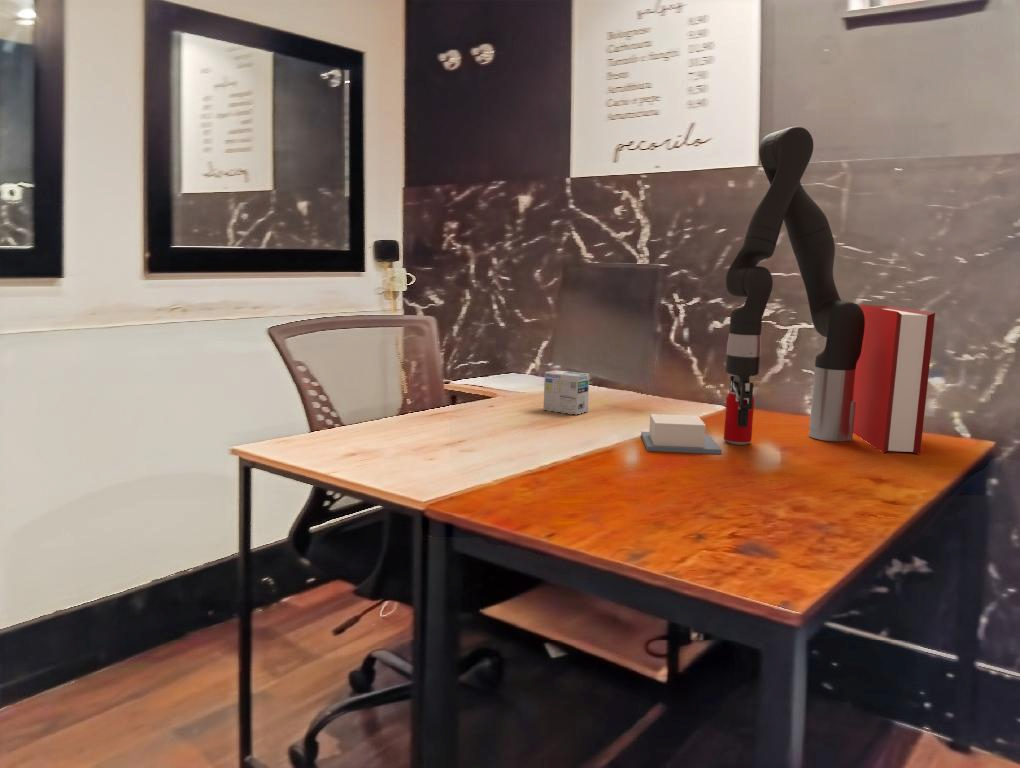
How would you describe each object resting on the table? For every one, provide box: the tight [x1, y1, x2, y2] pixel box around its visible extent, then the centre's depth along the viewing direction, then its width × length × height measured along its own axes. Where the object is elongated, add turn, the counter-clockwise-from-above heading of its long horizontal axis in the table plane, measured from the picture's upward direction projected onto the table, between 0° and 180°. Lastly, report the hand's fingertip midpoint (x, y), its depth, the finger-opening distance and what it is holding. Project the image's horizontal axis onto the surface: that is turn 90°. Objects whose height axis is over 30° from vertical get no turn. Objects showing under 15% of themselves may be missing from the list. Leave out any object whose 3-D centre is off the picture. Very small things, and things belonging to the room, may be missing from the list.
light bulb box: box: [543, 369, 590, 416], centre depth 228 cm, size 11×7×11 cm, turn 58°
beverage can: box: [723, 390, 755, 446], centre depth 195 cm, size 6×6×12 cm
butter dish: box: [640, 413, 722, 455], centre depth 191 cm, size 16×16×6 cm
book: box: [853, 304, 936, 455], centre depth 200 cm, size 27×8×32 cm, turn 175°
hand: (738, 422), depth 195 cm, fingers open, 8 cm apart
